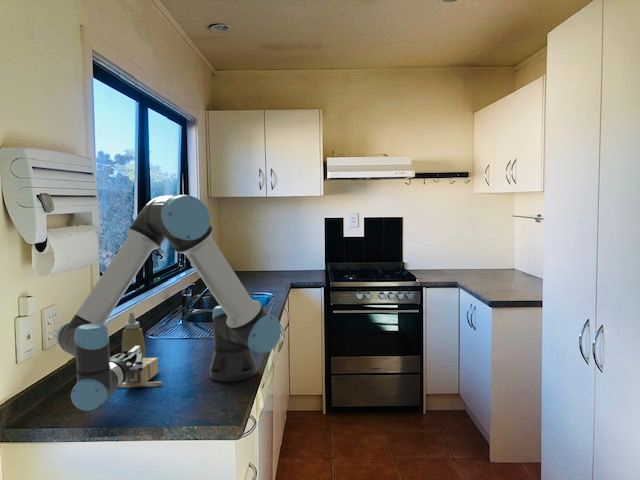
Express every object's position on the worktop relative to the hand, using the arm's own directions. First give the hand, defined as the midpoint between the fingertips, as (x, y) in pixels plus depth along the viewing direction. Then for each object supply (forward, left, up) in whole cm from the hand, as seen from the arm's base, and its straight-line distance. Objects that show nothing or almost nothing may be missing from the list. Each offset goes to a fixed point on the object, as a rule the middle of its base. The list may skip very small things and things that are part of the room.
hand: (137, 350), depth 160 cm
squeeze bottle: (+9, -23, -11) cm, 27 cm away
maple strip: (0, +1, -11) cm, 11 cm away
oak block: (0, +4, -7) cm, 8 cm away
